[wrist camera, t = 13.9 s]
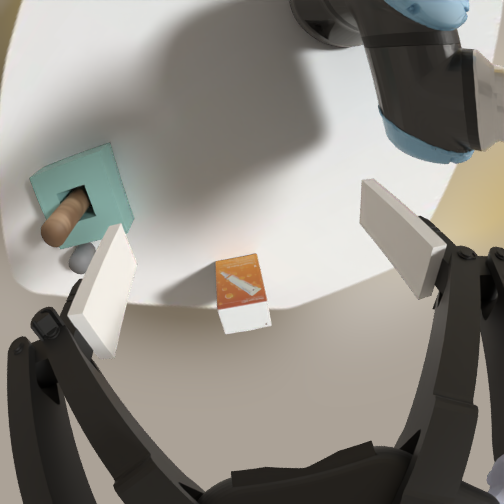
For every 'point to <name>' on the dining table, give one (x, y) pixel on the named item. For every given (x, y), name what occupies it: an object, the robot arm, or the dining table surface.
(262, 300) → the small box
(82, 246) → the charcoal dowel
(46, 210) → the hole block
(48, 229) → the walnut dowel
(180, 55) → the dining table surface
